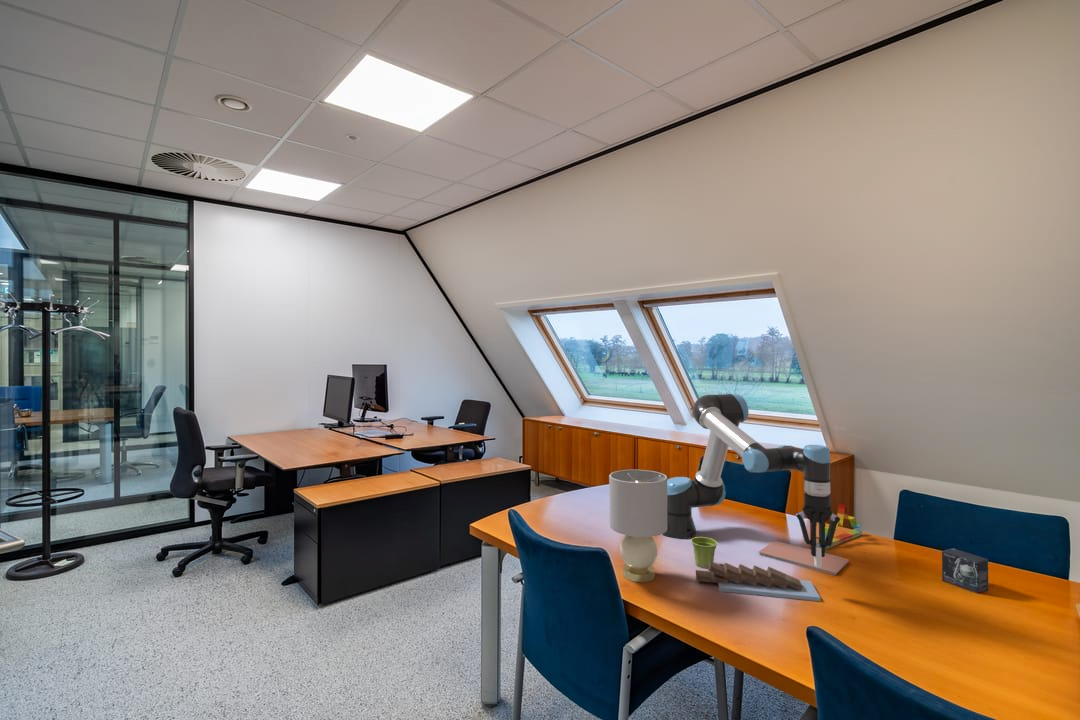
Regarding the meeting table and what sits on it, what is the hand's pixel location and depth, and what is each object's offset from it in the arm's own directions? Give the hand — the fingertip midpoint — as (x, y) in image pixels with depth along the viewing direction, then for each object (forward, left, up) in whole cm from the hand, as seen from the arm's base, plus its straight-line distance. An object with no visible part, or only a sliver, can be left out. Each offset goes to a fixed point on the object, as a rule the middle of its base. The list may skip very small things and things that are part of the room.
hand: (817, 566), depth 165 cm
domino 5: (-10, 0, -7) cm, 12 cm away
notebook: (+3, +30, -10) cm, 32 cm away
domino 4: (-14, 0, -7) cm, 16 cm away
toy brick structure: (+22, +53, -9) cm, 58 cm away
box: (+49, +17, -9) cm, 53 cm away
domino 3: (-19, 0, -7) cm, 20 cm away
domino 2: (-24, 0, -7) cm, 25 cm away
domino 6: (-5, 0, -7) cm, 9 cm away
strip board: (-16, 0, -9) cm, 18 cm away
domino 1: (-28, 0, -7) cm, 29 cm away
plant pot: (-34, +15, -9) cm, 39 cm away
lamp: (-57, 0, -9) cm, 58 cm away
